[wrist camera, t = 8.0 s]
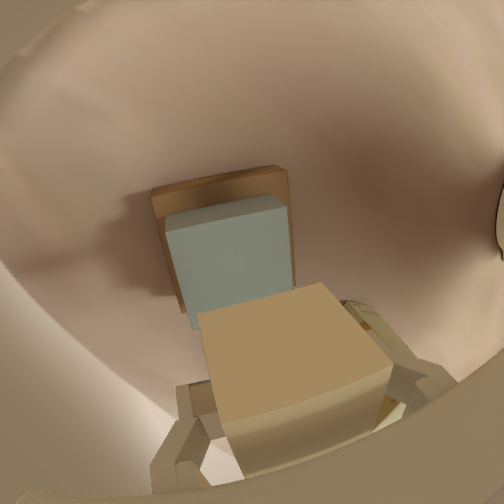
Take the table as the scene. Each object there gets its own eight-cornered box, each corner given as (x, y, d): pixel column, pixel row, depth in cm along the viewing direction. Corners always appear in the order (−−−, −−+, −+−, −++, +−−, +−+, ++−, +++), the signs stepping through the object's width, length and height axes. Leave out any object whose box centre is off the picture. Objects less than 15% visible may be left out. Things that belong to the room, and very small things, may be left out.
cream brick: (321, 281, 12) (393, 363, 8) (320, 365, 14) (367, 442, 10) (196, 313, 11) (221, 424, 7) (221, 394, 13) (247, 485, 9)
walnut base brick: (272, 164, 22) (286, 170, 20) (282, 268, 26) (295, 285, 24) (152, 187, 21) (150, 197, 18) (179, 292, 25) (181, 313, 22)
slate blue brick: (270, 193, 20) (286, 206, 17) (279, 283, 23) (293, 304, 21) (165, 215, 19) (165, 232, 16) (189, 304, 22) (192, 330, 19)
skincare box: (345, 298, 29) (419, 382, 18) (373, 306, 31) (443, 381, 20) (314, 348, 31) (369, 436, 20) (343, 352, 33) (398, 430, 22)
